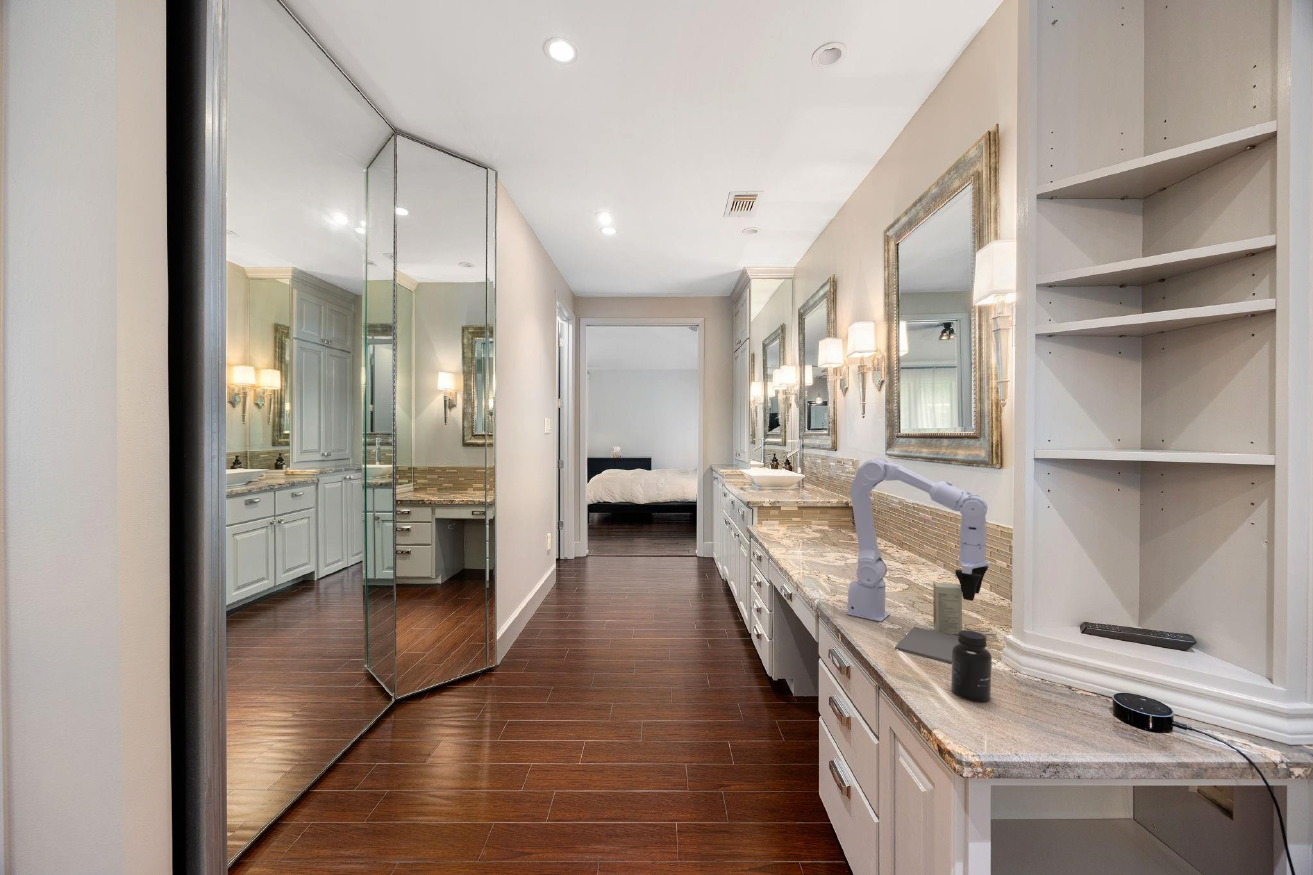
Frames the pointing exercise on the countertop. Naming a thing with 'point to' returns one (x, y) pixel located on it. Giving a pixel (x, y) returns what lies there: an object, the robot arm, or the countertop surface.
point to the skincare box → (947, 608)
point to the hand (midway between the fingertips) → (971, 596)
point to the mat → (928, 644)
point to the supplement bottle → (971, 667)
